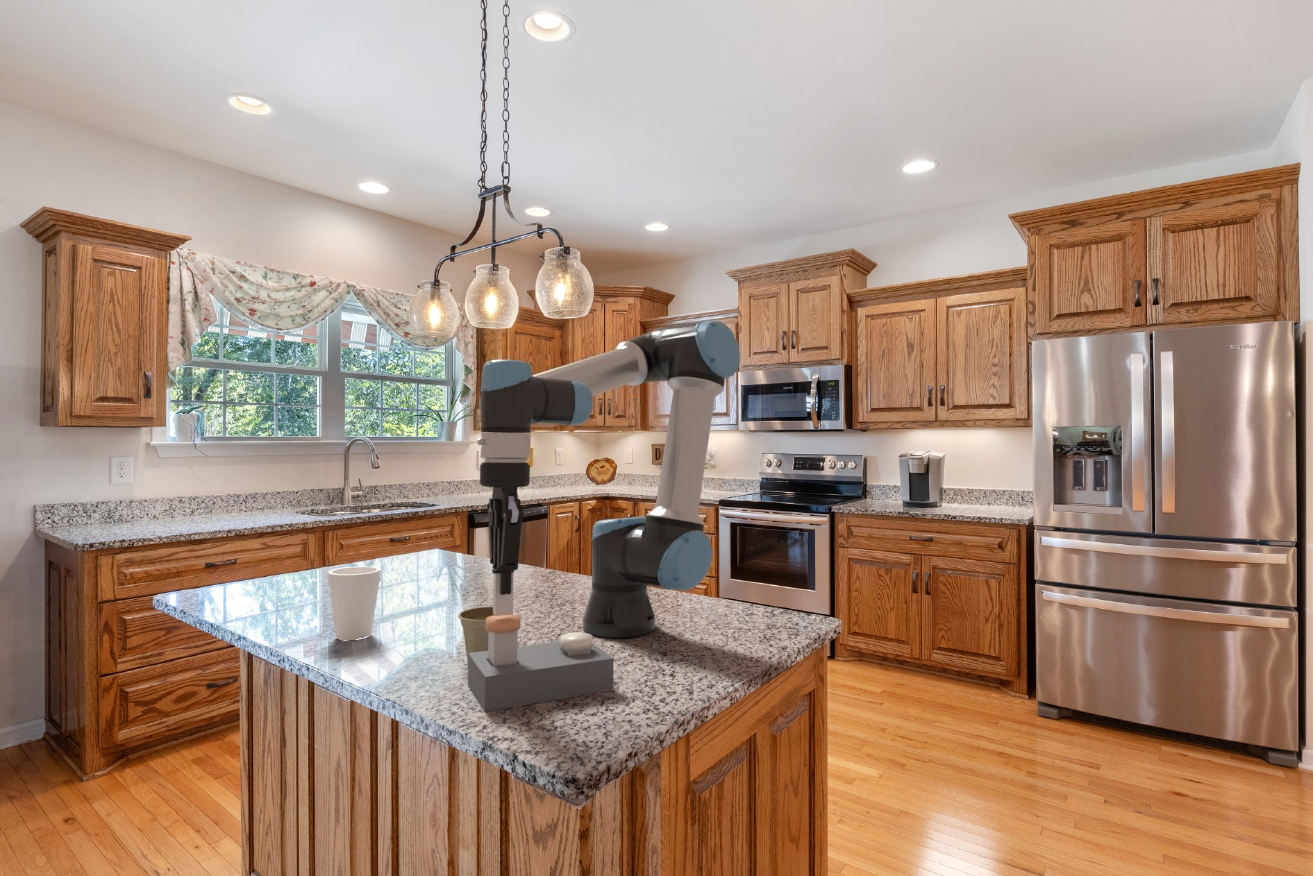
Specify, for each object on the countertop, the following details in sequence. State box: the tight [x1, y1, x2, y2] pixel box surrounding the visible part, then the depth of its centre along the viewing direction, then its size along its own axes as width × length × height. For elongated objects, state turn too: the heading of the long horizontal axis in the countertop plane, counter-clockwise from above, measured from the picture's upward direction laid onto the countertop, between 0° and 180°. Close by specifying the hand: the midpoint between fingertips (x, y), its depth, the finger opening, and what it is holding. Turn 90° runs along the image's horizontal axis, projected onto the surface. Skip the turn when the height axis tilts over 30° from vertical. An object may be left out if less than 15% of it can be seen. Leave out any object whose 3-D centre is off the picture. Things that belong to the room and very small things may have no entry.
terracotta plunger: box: [486, 614, 521, 667], centre depth 104 cm, size 5×5×7 cm
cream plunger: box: [559, 631, 594, 656], centre depth 109 cm, size 5×5×7 cm
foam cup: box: [327, 565, 382, 641], centre depth 133 cm, size 10×9×13 cm
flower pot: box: [457, 606, 514, 663], centre depth 118 cm, size 9×9×9 cm
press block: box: [467, 641, 615, 713], centre depth 106 cm, size 20×12×5 cm, turn 117°
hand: (502, 613), depth 104 cm, fingers closed
